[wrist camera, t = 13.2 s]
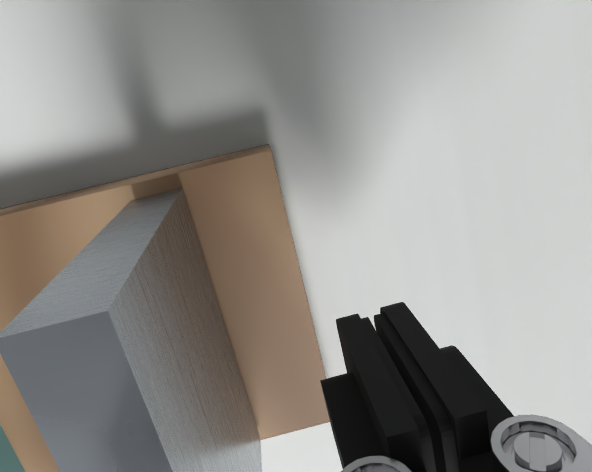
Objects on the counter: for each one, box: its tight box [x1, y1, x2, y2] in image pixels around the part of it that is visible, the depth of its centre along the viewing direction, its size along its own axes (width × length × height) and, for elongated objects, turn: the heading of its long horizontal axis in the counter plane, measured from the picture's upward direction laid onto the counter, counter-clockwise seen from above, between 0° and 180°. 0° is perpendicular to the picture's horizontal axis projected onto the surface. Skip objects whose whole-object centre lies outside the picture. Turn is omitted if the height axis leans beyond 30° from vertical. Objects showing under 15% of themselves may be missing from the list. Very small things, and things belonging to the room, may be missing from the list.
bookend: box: [0, 188, 262, 472], centre depth 11 cm, size 2×9×8 cm, turn 13°
